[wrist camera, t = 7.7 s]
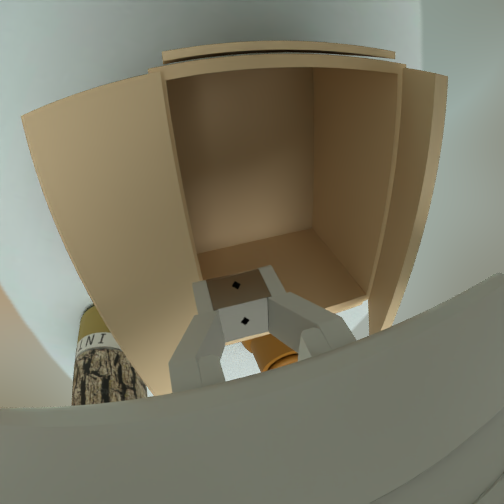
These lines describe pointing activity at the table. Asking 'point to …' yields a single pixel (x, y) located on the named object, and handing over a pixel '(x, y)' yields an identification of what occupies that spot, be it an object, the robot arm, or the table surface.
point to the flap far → (409, 191)
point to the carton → (286, 161)
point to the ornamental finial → (270, 352)
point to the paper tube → (102, 366)
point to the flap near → (121, 214)
